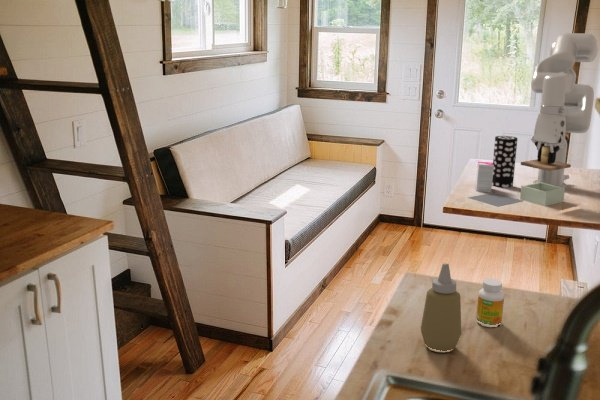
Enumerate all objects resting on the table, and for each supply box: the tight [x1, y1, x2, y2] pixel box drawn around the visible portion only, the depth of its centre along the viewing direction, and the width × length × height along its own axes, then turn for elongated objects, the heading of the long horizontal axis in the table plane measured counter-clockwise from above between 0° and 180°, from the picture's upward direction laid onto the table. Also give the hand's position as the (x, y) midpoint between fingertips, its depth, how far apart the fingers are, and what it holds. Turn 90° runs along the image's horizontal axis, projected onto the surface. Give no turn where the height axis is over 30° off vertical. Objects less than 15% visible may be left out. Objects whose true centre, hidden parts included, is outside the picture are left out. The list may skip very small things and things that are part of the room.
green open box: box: [519, 182, 566, 207], centre depth 234 cm, size 11×11×6 cm
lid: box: [520, 146, 572, 171], centre depth 230 cm, size 12×12×7 cm
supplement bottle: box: [475, 278, 505, 325], centre depth 140 cm, size 5×5×10 cm
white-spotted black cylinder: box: [492, 135, 519, 189], centre depth 254 cm, size 8×8×20 cm
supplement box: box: [474, 161, 494, 193], centre depth 247 cm, size 6×6×12 cm
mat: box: [467, 192, 523, 208], centre depth 236 cm, size 14×14×1 cm
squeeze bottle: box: [420, 262, 462, 351], centre depth 128 cm, size 8×8×18 cm
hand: (545, 161), depth 230 cm, fingers closed on lid, 3 cm apart
